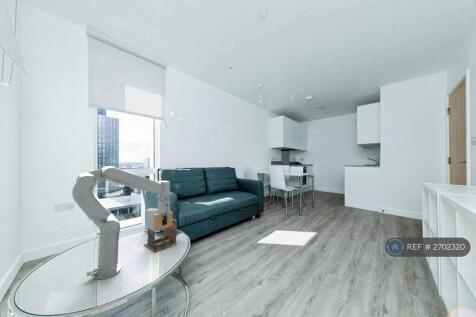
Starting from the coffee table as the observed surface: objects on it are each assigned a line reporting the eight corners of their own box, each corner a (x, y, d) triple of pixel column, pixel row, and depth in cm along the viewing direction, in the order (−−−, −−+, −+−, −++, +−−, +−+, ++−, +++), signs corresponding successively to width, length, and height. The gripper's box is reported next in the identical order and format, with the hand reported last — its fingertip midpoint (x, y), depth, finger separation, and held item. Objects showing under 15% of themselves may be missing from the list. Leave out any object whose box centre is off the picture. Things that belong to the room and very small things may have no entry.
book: (155, 230, 120) (156, 215, 120) (153, 228, 123) (153, 214, 123) (172, 225, 129) (172, 212, 130) (169, 224, 132) (169, 210, 132)
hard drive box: (164, 229, 169) (165, 208, 169) (160, 233, 161) (161, 211, 162) (149, 228, 171) (150, 208, 171) (144, 231, 163) (145, 210, 163)
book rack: (154, 252, 127) (155, 226, 127) (143, 245, 137) (144, 220, 137) (176, 244, 141) (177, 220, 142) (165, 238, 151) (166, 215, 152)
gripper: (174, 199, 124) (173, 225, 124) (163, 196, 135) (162, 220, 134) (164, 201, 118) (163, 228, 118) (153, 197, 129) (152, 222, 129)
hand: (162, 223), depth 126 cm, fingers closed on book, 4 cm apart
